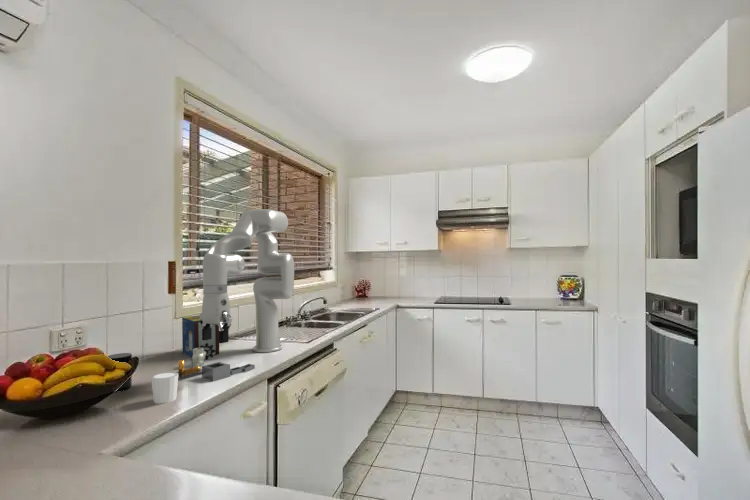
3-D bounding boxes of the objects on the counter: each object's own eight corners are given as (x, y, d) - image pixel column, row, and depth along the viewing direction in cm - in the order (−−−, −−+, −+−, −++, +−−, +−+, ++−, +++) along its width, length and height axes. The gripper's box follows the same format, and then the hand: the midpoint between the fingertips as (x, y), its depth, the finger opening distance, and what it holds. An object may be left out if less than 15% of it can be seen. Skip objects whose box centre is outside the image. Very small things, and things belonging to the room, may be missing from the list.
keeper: (195, 370, 141) (195, 354, 141) (206, 373, 137) (206, 357, 137) (164, 378, 132) (164, 361, 132) (175, 381, 128) (175, 364, 128)
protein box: (206, 348, 176) (206, 314, 176) (219, 354, 164) (219, 317, 165) (181, 352, 169) (181, 316, 169) (193, 359, 157) (193, 320, 158)
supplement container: (133, 389, 121) (133, 355, 121) (106, 394, 116) (106, 359, 117) (130, 384, 126) (130, 351, 126) (105, 388, 122) (105, 355, 122)
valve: (205, 367, 145) (215, 359, 157) (205, 349, 145) (215, 342, 157) (187, 368, 145) (198, 359, 156) (187, 350, 145) (198, 343, 157)
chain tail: (249, 366, 144) (249, 363, 144) (257, 368, 142) (257, 365, 142) (226, 373, 136) (226, 370, 136) (233, 375, 134) (233, 371, 134)
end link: (219, 373, 136) (219, 362, 136) (230, 376, 133) (230, 364, 133) (201, 378, 131) (201, 366, 131) (213, 381, 127) (212, 369, 127)
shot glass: (184, 397, 113) (184, 372, 113) (164, 405, 107) (164, 379, 107) (165, 394, 115) (165, 370, 116) (145, 403, 109) (145, 377, 109)
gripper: (240, 290, 130) (240, 341, 130) (210, 289, 140) (210, 337, 140) (220, 291, 124) (220, 345, 124) (190, 290, 134) (190, 340, 134)
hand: (215, 341), depth 132 cm, fingers open, 9 cm apart
